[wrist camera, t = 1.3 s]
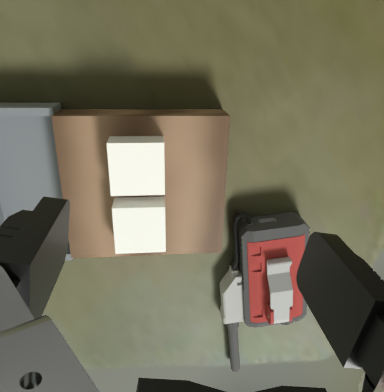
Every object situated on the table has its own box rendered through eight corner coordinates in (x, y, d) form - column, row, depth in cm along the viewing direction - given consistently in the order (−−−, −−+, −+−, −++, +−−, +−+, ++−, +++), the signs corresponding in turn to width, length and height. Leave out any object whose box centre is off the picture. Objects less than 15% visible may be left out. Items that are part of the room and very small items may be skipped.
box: (60, 102, 28) (52, 107, 26) (78, 244, 33) (73, 259, 31) (-27, 102, 27) (-43, 107, 25) (5, 247, 32) (-6, 263, 30)
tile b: (164, 196, 29) (165, 206, 27) (165, 239, 30) (165, 251, 28) (114, 197, 28) (111, 208, 26) (117, 241, 30) (115, 254, 28)
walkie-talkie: (210, 209, 33) (224, 362, 41) (218, 232, 29) (231, 396, 37) (301, 197, 34) (296, 350, 42) (321, 218, 30) (312, 383, 38)
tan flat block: (222, 109, 29) (229, 115, 27) (216, 235, 34) (221, 252, 31) (61, 109, 28) (51, 116, 25) (78, 240, 33) (71, 258, 30)
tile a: (163, 136, 27) (164, 142, 25) (164, 185, 28) (165, 194, 26) (109, 136, 26) (106, 143, 24) (113, 186, 28) (110, 196, 26)
